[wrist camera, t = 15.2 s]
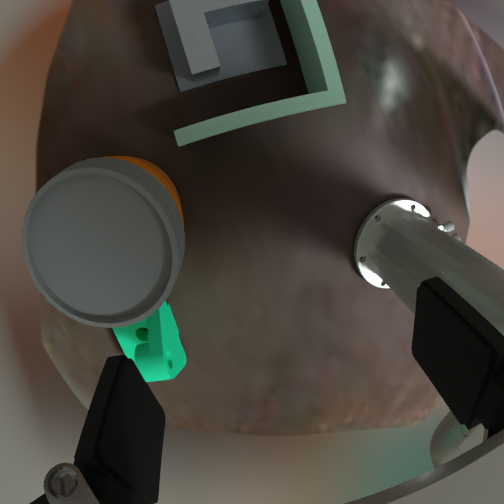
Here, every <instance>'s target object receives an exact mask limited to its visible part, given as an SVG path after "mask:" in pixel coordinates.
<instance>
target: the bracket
mask: <svg viewBox="0 0 504 504" xmlns="http://www.w3.org/2000/svg"><path fill="white" fill-rule="evenodd" d="M169 1H170V5H171V8H172V11H173V14H174V18H175V21H176V24H177V27H178V31H179V34H180V37H181V40H182V44H183V47H184V50H185V53H186V57H187V60H188V63H189V66H190V70H191V73H192V76H193V79H194V82H198V81H201V80H204V79H208V78H211V77H215V76H218V75H219V71H220V67H221V66H220V62H219V59H218V56H217V53H216V50H215V46H214V43H213V40H212V37H211V34H210V31H209V29H210V28H214V27H218V26H222V25H226V24H230V23H234V22H239V21H244V20H248V19H253V18H259V17H260V16H261V14H262V13H263V11H264V9H265V7H266V5H267V4H268V2H269V0H169Z"/></svg>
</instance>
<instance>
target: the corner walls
mask: <svg viewBox="0 0 504 504" xmlns="http://www.w3.org/2000/svg"><path fill="white" fill-rule="evenodd" d="M280 2H281V5H282V8H283V11H284V14H285V17H286V20H287V23H288V26H289V29H290V32H291V35H292V39H293V42H294V45H295V48H296V52H297V55H298V58H299V62H300V65H301V69H302V72H303V76H304V79H305V83H306V86H307V90H308V94H307V95H302V96H297V97H292V98H288V99H283V100H279V101H275V102H270V103H266V104H262V105H258V106H254V107H251V108H247V109H243V110H239V111H236V112H232V113H229V114H225V115H222V116H218V117H215V118H212V119H208V120H205V121H202V122H199V123H196V124H193V125H190V126H186V127H183V128H181V129H178V130H175V131H174V134H175V138H176V141H177V144H178V147H180V146H183V145H186V144H189V143H192V142H195V141H198V140H201V139H204V138H207V137H210V136H214V135H217V134H220V133H223V132H227V131H230V130H234V129H237V128H241V127H244V126H248V125H252V124H255V123H259V122H263V121H267V120H271V119H275V118H279V117H283V116H287V115H291V114H296V113H300V112H305V111H309V110H314V109H319V108H324V107H329V106H334V105H339V104H344V103H346V99H345V95H344V91H343V87H342V83H341V79H340V75H339V71H338V68H337V64H336V61H335V57H334V54H333V50H332V47H331V43H330V40H329V37H328V34H327V31H326V27H325V24H324V21H323V18H322V15H321V12H320V9H319V7H318V4H317V1H316V0H280Z"/></svg>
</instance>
